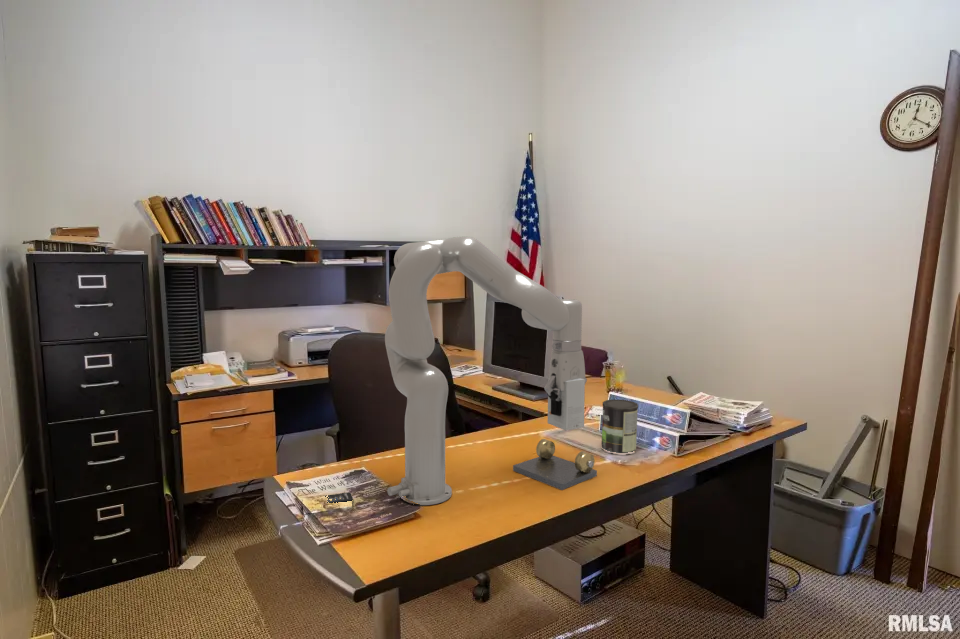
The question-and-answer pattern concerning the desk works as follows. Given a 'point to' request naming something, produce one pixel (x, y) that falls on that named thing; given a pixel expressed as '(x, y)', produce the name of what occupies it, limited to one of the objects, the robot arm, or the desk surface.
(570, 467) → the grey brass knob stand
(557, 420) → the small box
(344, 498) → the multiport hub
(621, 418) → the coffee can
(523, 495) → the desk surface
